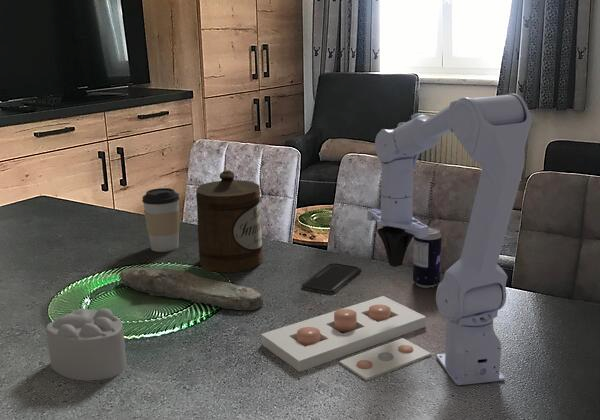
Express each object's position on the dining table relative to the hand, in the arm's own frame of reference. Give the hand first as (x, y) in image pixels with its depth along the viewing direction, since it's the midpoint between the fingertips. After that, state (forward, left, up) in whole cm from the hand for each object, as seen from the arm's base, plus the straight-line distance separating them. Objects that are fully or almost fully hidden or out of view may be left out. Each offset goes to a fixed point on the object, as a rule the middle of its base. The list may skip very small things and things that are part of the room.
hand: (395, 265), depth 127 cm
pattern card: (-16, +6, -10) cm, 20 cm away
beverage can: (+14, -11, -11) cm, 21 cm away
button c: (-9, +18, -10) cm, 23 cm away
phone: (+21, +8, -11) cm, 25 cm away
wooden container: (+37, +29, -11) cm, 48 cm away
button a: (-3, +4, -10) cm, 11 cm away
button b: (-6, +11, -9) cm, 15 cm away
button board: (-6, +11, -10) cm, 16 cm away
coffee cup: (+51, +45, -11) cm, 69 cm away
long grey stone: (+19, +39, -11) cm, 45 cm away
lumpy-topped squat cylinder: (-8, +55, -11) cm, 57 cm away
